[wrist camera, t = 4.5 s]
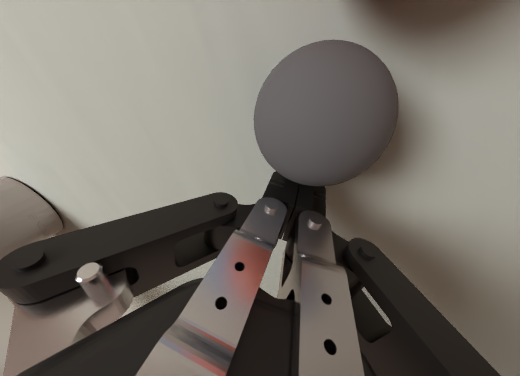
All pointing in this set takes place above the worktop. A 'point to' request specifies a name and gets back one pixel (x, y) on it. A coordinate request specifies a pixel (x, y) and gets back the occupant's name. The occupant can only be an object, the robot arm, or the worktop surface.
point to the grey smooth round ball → (326, 113)
